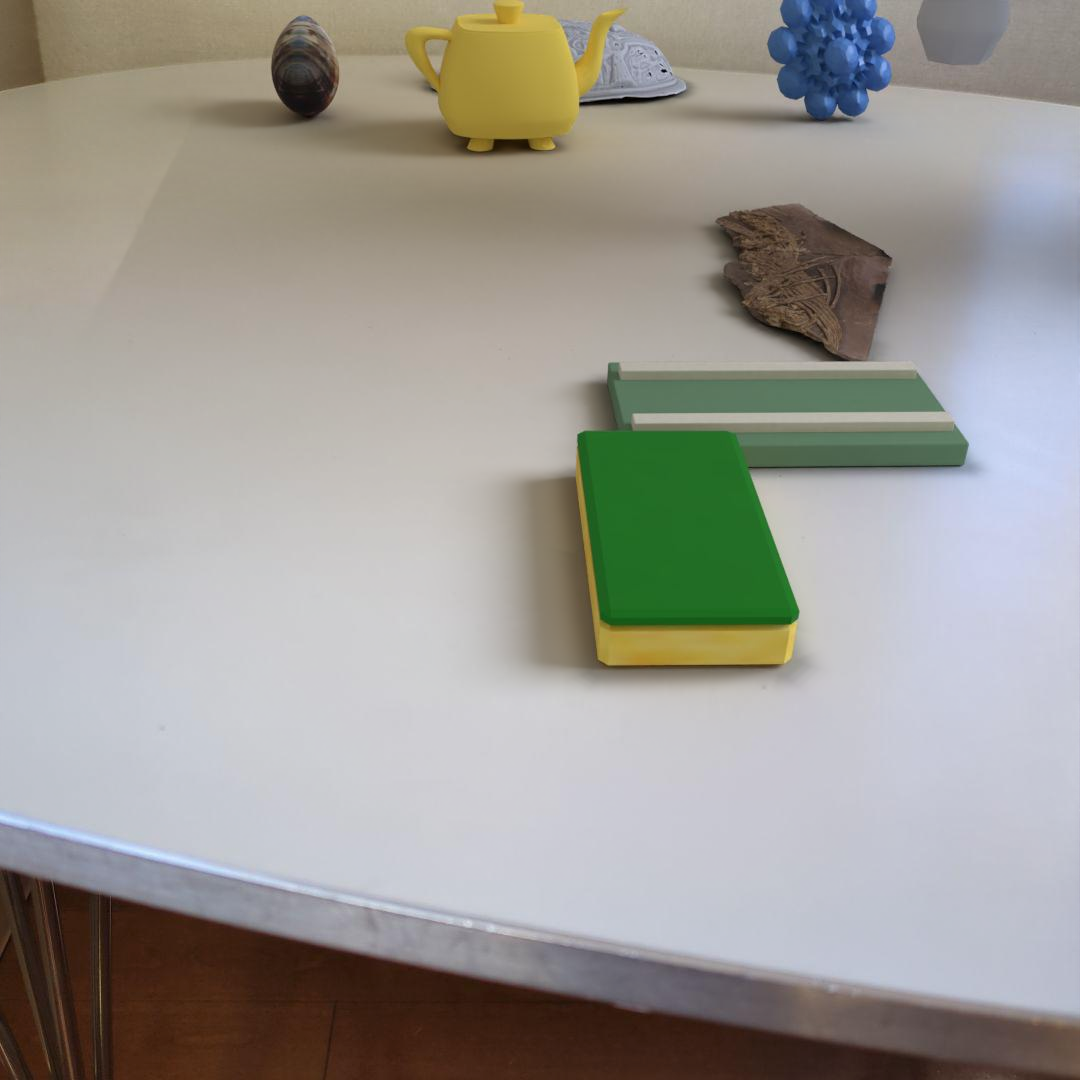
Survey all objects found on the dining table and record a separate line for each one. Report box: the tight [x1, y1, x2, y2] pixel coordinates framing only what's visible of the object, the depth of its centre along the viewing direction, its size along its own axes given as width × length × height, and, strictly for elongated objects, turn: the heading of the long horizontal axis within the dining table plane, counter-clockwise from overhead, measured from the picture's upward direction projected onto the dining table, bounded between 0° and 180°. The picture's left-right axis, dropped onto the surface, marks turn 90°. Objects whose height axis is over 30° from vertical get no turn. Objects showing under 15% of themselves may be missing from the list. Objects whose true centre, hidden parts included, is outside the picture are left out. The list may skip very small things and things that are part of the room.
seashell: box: [270, 14, 340, 117], centre depth 104 cm, size 10×6×8 cm, turn 2°
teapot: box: [404, 0, 628, 152], centre depth 99 cm, size 18×11×11 cm, turn 98°
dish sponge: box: [575, 430, 800, 666], centre depth 49 cm, size 7×14×2 cm, turn 2°
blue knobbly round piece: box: [766, 0, 896, 121], centre depth 105 cm, size 12×7×12 cm, turn 96°
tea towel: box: [606, 360, 970, 468], centre depth 59 cm, size 16×9×2 cm, turn 93°
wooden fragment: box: [714, 202, 893, 362], centre depth 76 cm, size 26×11×1 cm, turn 176°
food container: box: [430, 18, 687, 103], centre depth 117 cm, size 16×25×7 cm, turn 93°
